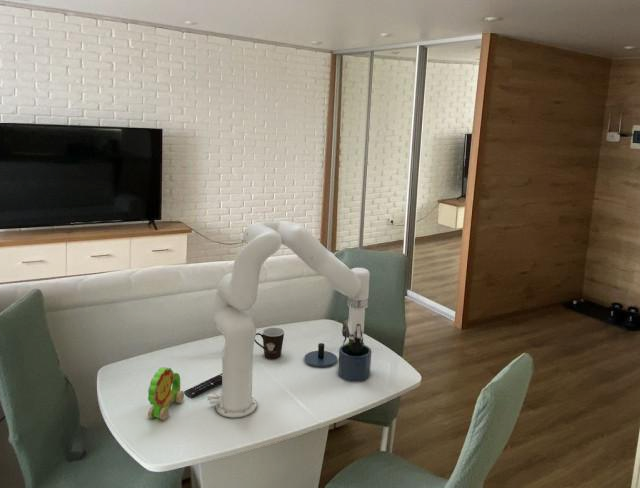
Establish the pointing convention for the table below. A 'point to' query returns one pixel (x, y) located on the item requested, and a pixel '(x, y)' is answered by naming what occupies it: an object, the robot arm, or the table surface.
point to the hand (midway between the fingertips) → (355, 348)
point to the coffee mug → (272, 342)
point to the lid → (320, 357)
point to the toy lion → (164, 392)
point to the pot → (354, 364)
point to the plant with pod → (346, 331)
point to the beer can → (351, 346)
